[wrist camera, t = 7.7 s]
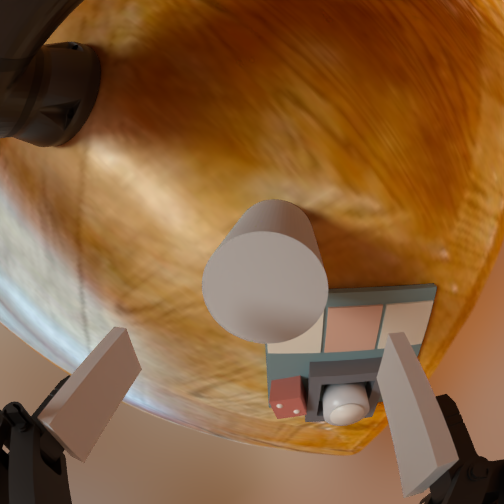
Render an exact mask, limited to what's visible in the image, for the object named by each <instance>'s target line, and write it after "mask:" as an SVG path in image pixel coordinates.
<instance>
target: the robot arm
mask: <svg viewBox="0 0 504 504" xmlns="http://www.w3.org/2000/svg"><path fill="white" fill-rule="evenodd" d="M83 1H84V0H0V138H5V137H14V138H17V139H20V140H22V141H25V142H28V143H30V144H33V145H36V146H39V147H51V146H59V145H62V144H64V143H65V142H67V141H69V140H70V139H71V138H72V137H73V136H74V135H75V134H76V133H77V132H78V131H79V130H80V129H81V127H82V126H83V124H84V123H85V121H86V120H87V118H88V116H89V114H90V112H91V110H92V108H93V105H94V103H95V100H96V97H97V93H98V89H99V84H100V74H101V71H100V63H99V59H98V56H97V54H96V53H95V51H94V50H93V49H92V48H90V47H89V46H86V45H83V44H81V43H78V42H62V43H54V44H46V45H43V44H44V43H45V42H46V41H47V39H48V38H49V37H50V36H51V34H52V33H53V32H54V31H55V30H56V29H57V27H58V26H59V25H60V24H61V23H62V22H63V21H64V20H65V19H66V18H67V17H68V15H69V14H70V13H71V12H72V11H73V10H74V9H75V8H76V7H77V6H78V5H79V4H81V3H82V2H83ZM141 370H142V369H141V366H140V364H139V361H138V359H137V356H136V354H135V351H134V349H133V346H132V343H131V340H130V338H129V335H128V332H127V329H126V328H120V327H114V328H113V329H112V330H111V331H110V332H109V333H108V334H107V335H106V336H105V338H104V339H103V340H102V341H101V342H100V343H99V344H98V345H97V346H96V348H95V349H94V350H93V351H92V352H91V353H90V354H89V356H88V357H87V358H86V359H85V360H84V361H83V362H82V364H81V365H80V366H79V367H78V368H77V369H76V371H75V372H74V373H73V374H72V375H71V376H70V375H69V376H67V377H66V378H65V379H63V380H61V381H60V383H58V385H57V386H56V387H55V390H53V391H52V392H51V393H50V395H48V397H47V398H46V399H45V400H44V402H43V403H42V404H41V405H40V406H39V408H38V409H37V410H36V411H35V413H34V414H33V415H32V416H30V415H29V414H28V412H27V411H26V410H25V409H24V407H23V406H22V405H21V404H20V403H19V402H11V403H9V404H7V405H6V406H5V407H4V408H3V410H2V411H1V410H0V504H72V501H71V496H70V490H69V484H68V476H67V467H66V458H65V455H64V454H63V451H64V450H66V451H67V452H68V453H69V454H70V455H71V456H72V457H74V458H76V459H78V460H80V461H82V462H85V461H86V459H87V457H88V455H89V454H90V452H91V450H92V449H93V447H94V445H95V444H96V442H97V440H98V439H99V437H100V435H101V434H102V432H103V430H104V429H105V427H106V425H107V424H108V422H109V421H110V419H111V417H112V416H113V414H114V412H115V411H116V409H117V408H118V406H119V404H120V403H121V401H122V400H123V398H124V396H125V395H126V393H127V392H128V390H129V388H130V387H131V385H132V384H133V382H134V381H135V379H136V377H137V376H138V374H139V373H140V371H141ZM377 381H378V385H379V388H380V392H381V396H382V399H383V403H384V407H385V410H386V414H387V418H388V422H389V426H390V430H391V435H392V439H393V443H394V448H395V453H396V457H397V463H398V468H399V473H400V479H401V485H402V490H403V497H404V498H405V497H409V496H413V495H416V494H419V493H422V492H424V491H425V490H426V489H427V488H429V487H430V492H431V493H430V494H428V495H427V496H426V497H425V498H423V499H422V500H421V502H420V504H422V503H424V502H425V503H424V504H504V460H497V461H488V460H487V459H486V458H484V457H482V456H478V455H477V453H476V451H475V449H474V446H473V443H472V441H471V438H470V436H469V433H468V431H467V428H466V426H465V424H464V423H463V419H462V417H461V415H460V414H459V413H460V412H459V410H458V408H457V406H456V403H455V402H454V401H453V400H452V399H451V398H450V397H449V396H448V395H447V394H444V395H440V396H436V397H435V395H434V393H433V390H432V388H431V386H430V384H429V381H428V379H427V377H426V375H425V373H424V371H423V369H422V367H421V364H420V362H419V360H418V358H417V356H416V354H415V352H414V350H413V348H412V346H411V344H410V342H409V341H408V339H407V337H406V335H405V333H404V332H398V333H388V337H387V341H386V345H385V349H384V353H383V357H382V361H381V364H380V368H379V371H378V375H377ZM3 444H4V445H5V446H6V447H7V448H8V449H9V450H10V452H9V453H8V454H7V453H6V452H5V451H4V450H3V449H2V447H3Z"/></svg>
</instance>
